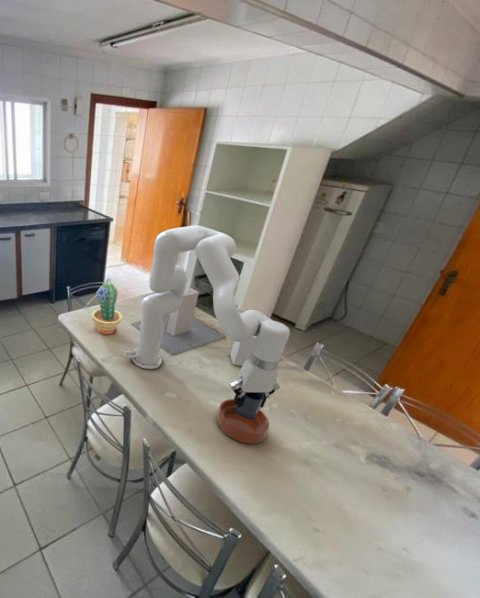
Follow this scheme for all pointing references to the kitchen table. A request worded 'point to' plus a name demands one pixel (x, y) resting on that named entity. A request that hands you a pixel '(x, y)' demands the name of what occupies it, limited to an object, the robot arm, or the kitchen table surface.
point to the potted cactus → (106, 309)
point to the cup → (250, 405)
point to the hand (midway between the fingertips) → (248, 404)
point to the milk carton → (242, 351)
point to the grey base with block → (185, 327)
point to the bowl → (241, 424)
